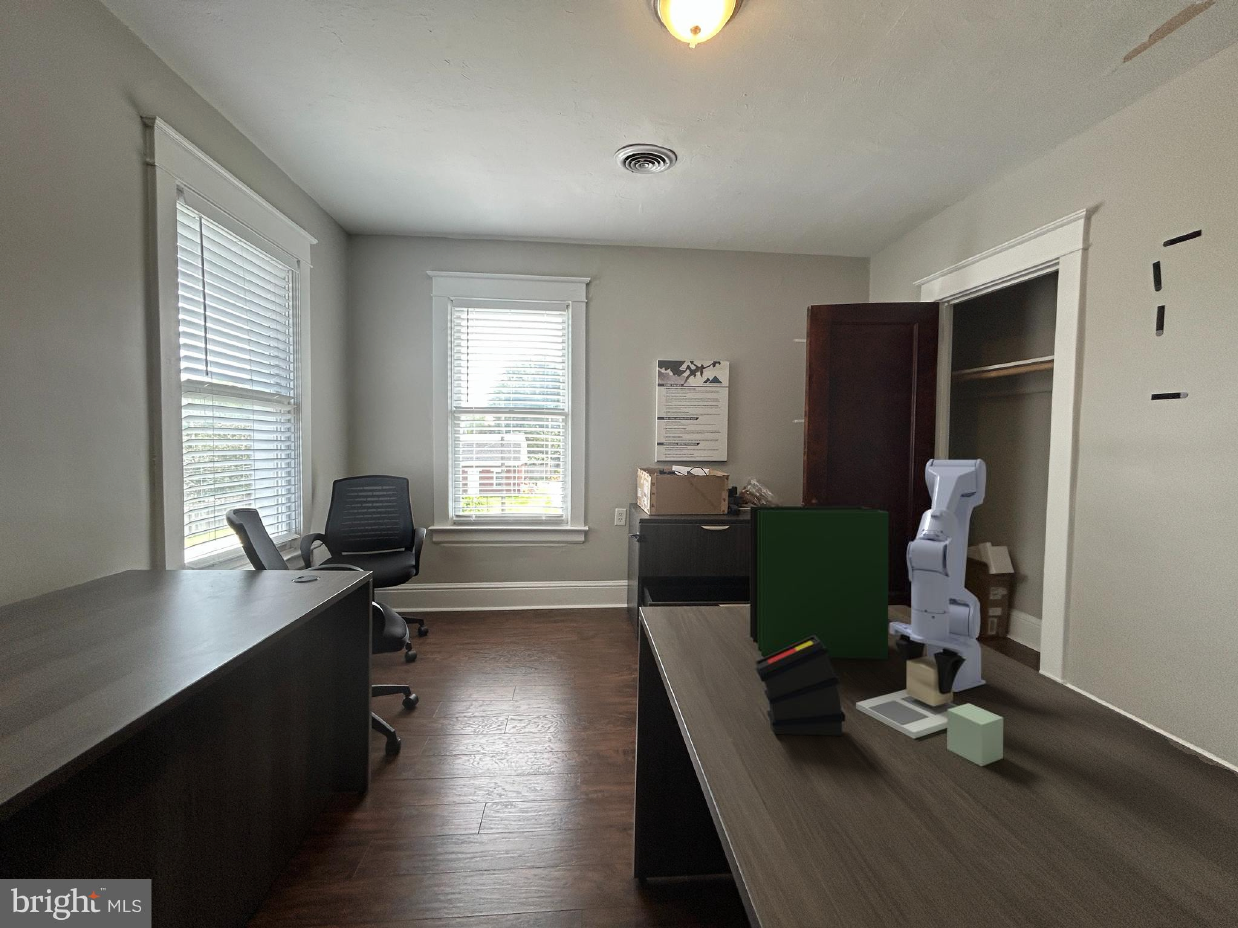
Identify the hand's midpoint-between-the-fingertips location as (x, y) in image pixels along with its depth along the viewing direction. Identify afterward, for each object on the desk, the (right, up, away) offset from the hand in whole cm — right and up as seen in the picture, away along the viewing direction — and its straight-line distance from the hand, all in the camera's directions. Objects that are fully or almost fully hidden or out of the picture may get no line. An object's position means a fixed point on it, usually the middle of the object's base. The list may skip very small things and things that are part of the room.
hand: (929, 686), depth 93 cm
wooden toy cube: (0, -2, 0) cm, 2 cm away
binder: (-9, -4, +31) cm, 33 cm away
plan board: (-4, -4, -2) cm, 6 cm away
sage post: (-1, -4, -14) cm, 14 cm away
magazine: (-25, -4, -7) cm, 27 cm away
